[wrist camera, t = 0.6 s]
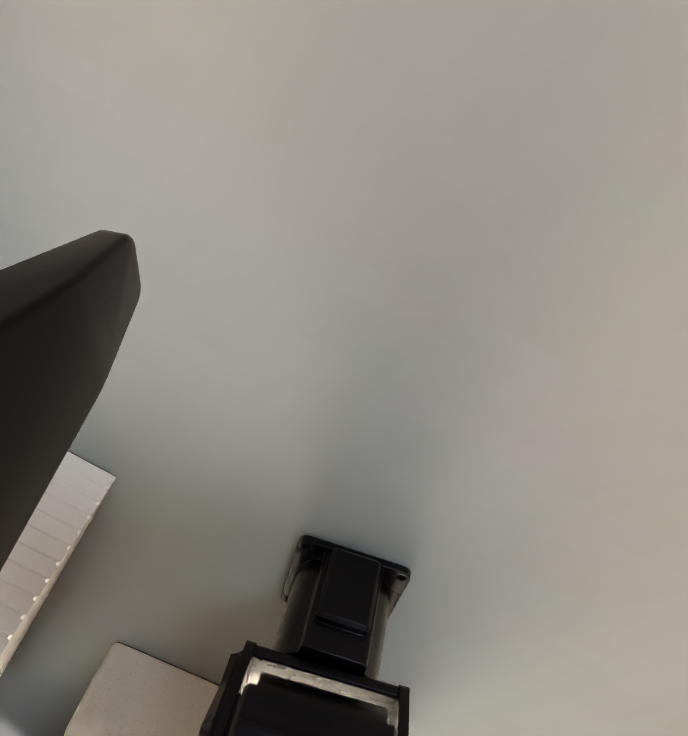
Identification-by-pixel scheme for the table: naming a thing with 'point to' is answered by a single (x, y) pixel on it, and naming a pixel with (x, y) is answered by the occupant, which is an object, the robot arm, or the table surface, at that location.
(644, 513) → the table surface
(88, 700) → the box
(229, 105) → the table surface
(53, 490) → the white ridged block
